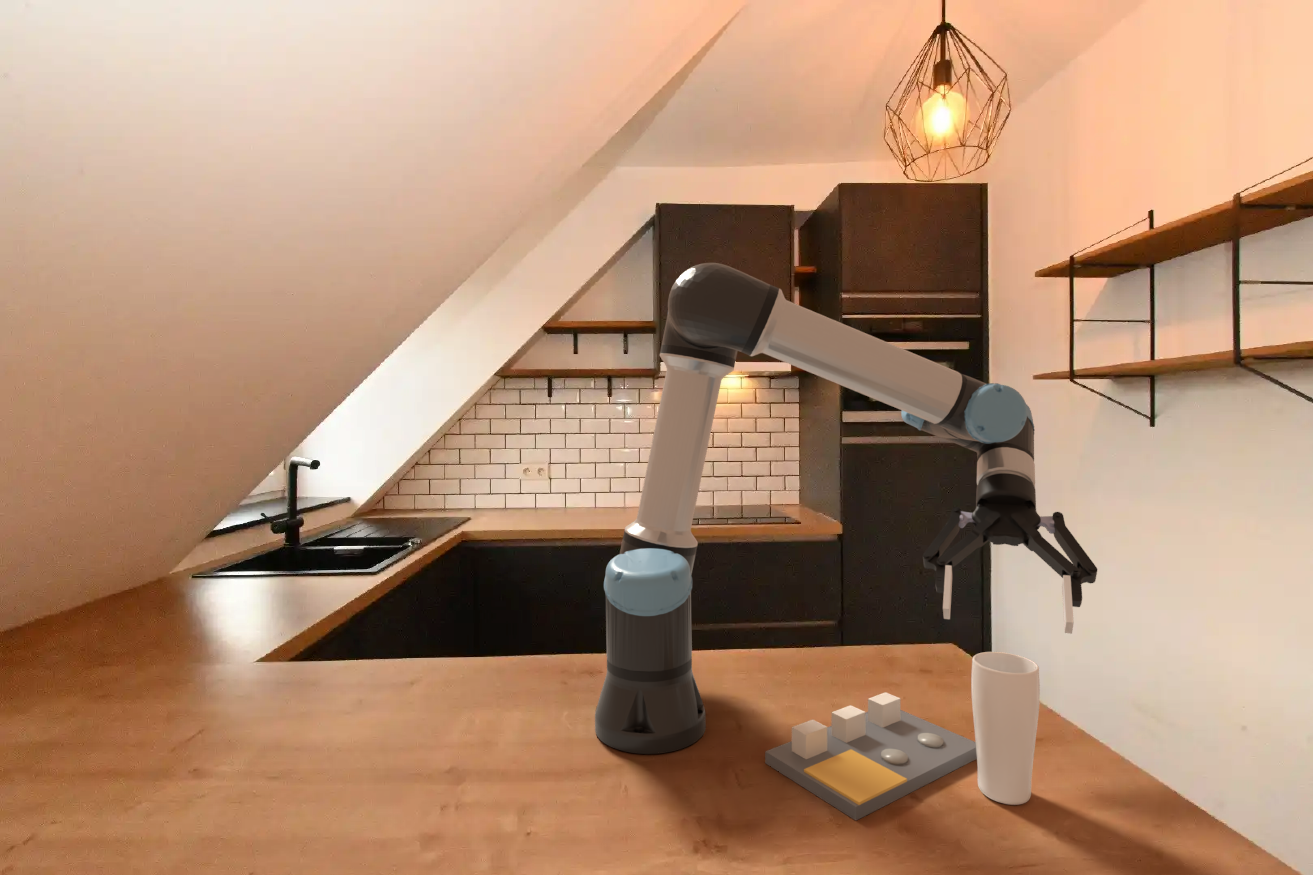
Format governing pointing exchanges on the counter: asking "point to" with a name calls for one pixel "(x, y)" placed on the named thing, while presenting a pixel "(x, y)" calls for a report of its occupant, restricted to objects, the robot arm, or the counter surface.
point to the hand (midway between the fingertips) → (1005, 620)
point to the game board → (869, 755)
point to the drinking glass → (1005, 724)
